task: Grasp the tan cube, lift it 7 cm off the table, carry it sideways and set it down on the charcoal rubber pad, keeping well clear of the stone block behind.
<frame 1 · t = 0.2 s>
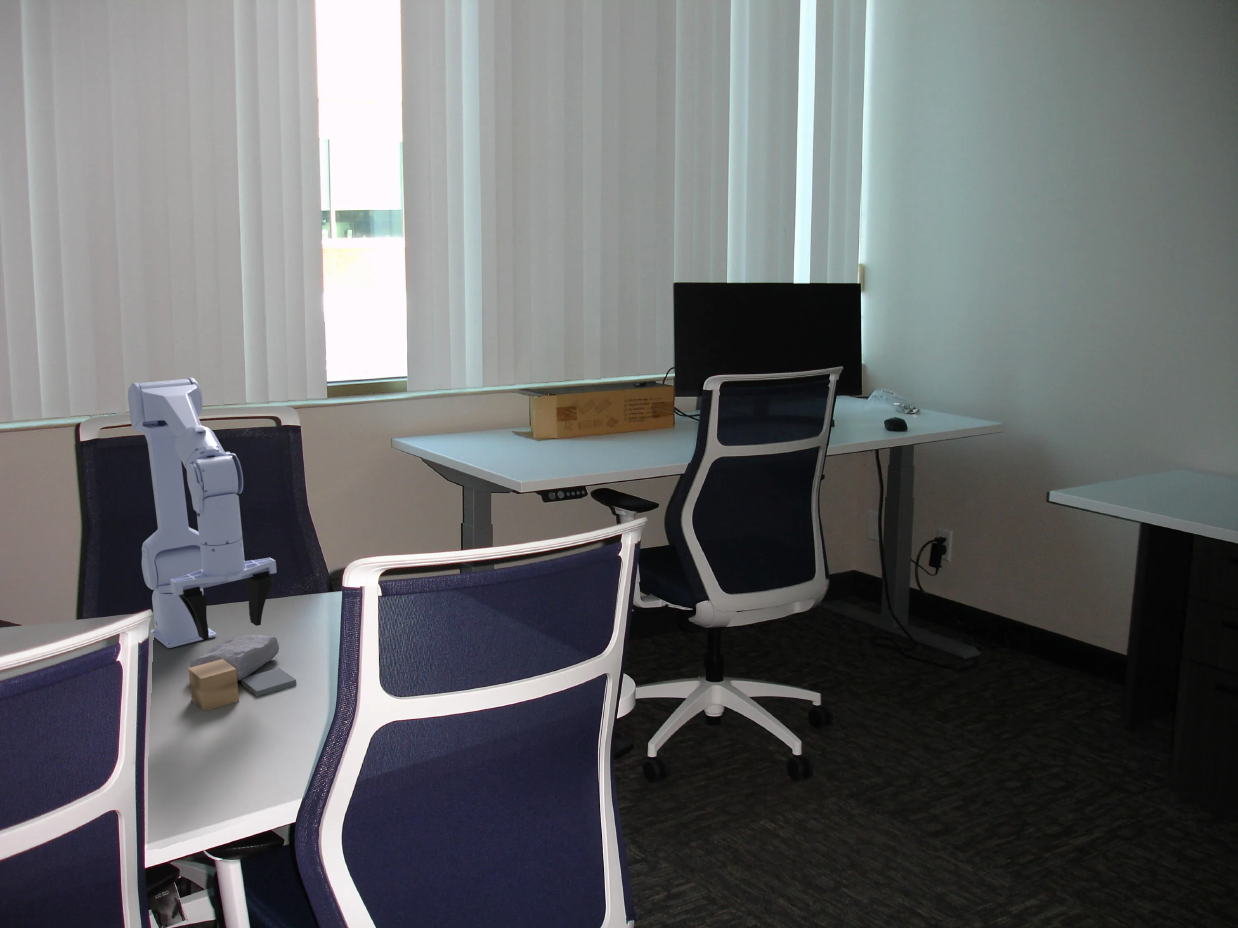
hand: (230, 630, 152), 10 cm above the table, fingers open, 7 cm apart
stone block: (234, 668, 162), on the table, touching charcoal pad
tan cube: (215, 700, 152), on the table
charcoal pad: (268, 684, 157), on the table
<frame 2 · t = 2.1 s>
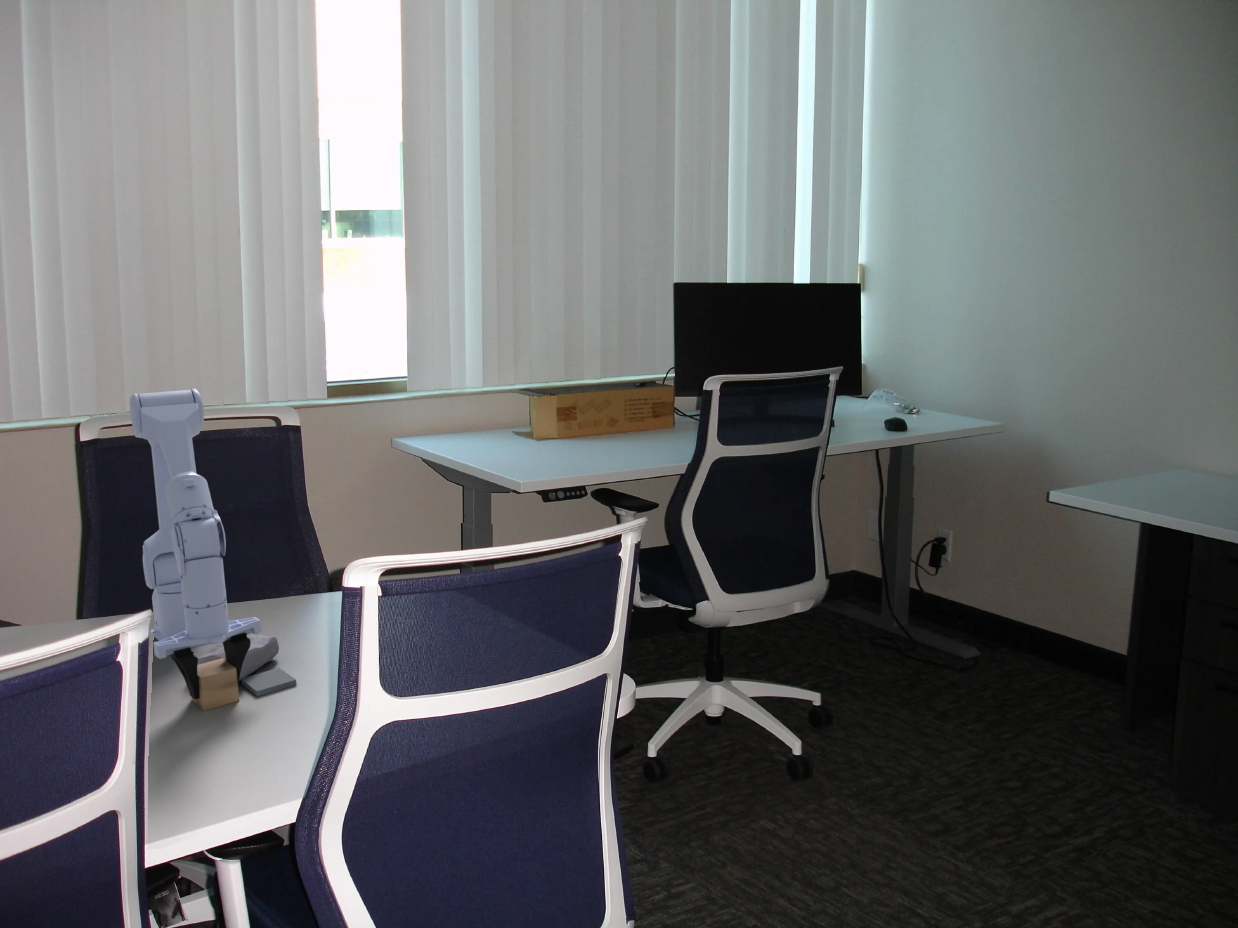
hand: (214, 690, 151), 1 cm above the table, fingers closed on tan cube, 5 cm apart
tan cube: (215, 699, 152), on the table, touching gripper
everything else where it was.
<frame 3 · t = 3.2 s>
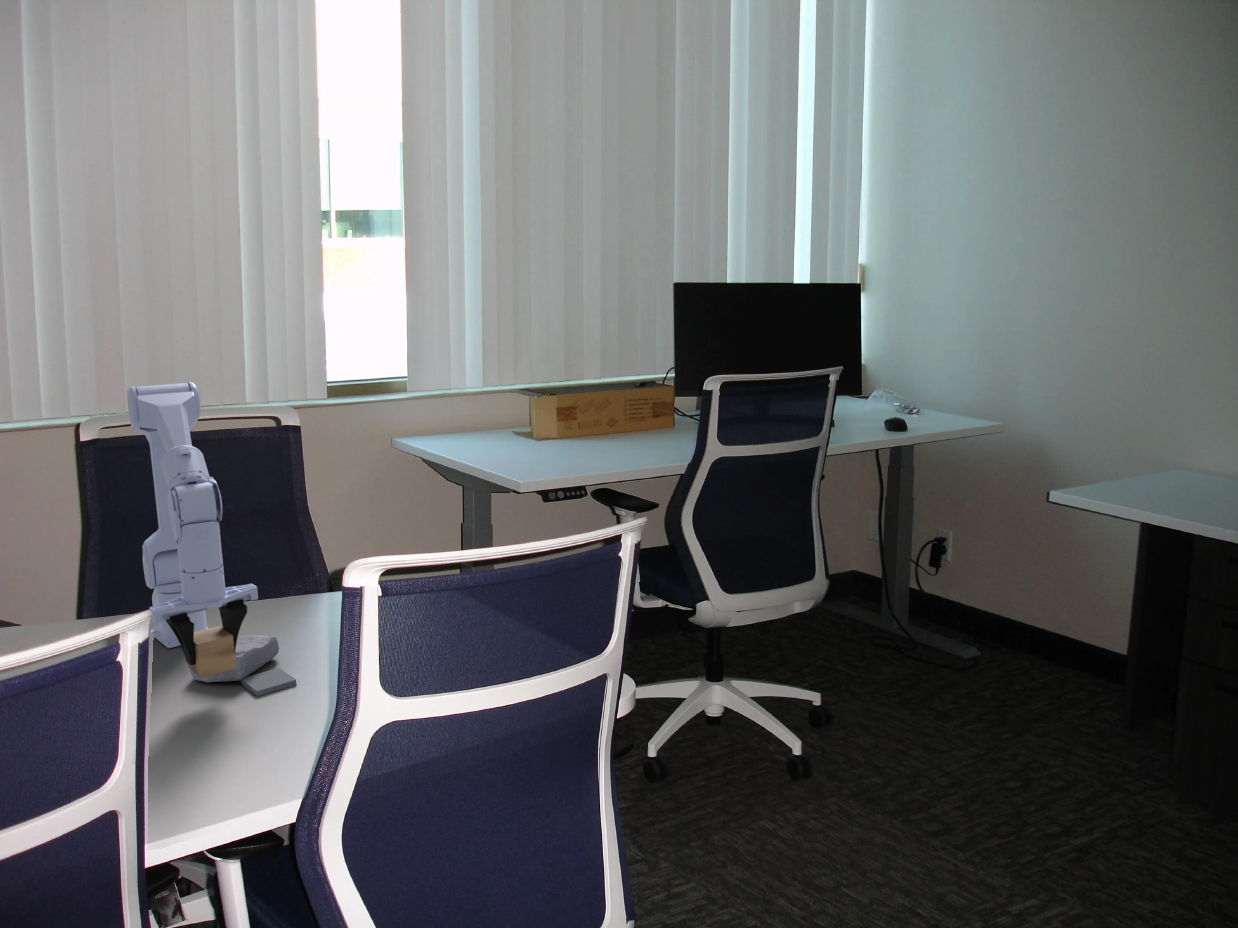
hand: (210, 657, 150), 7 cm above the table, fingers closed on tan cube, 5 cm apart
tan cube: (212, 667, 150), point 5 cm above the table, touching gripper
everything else where it was.
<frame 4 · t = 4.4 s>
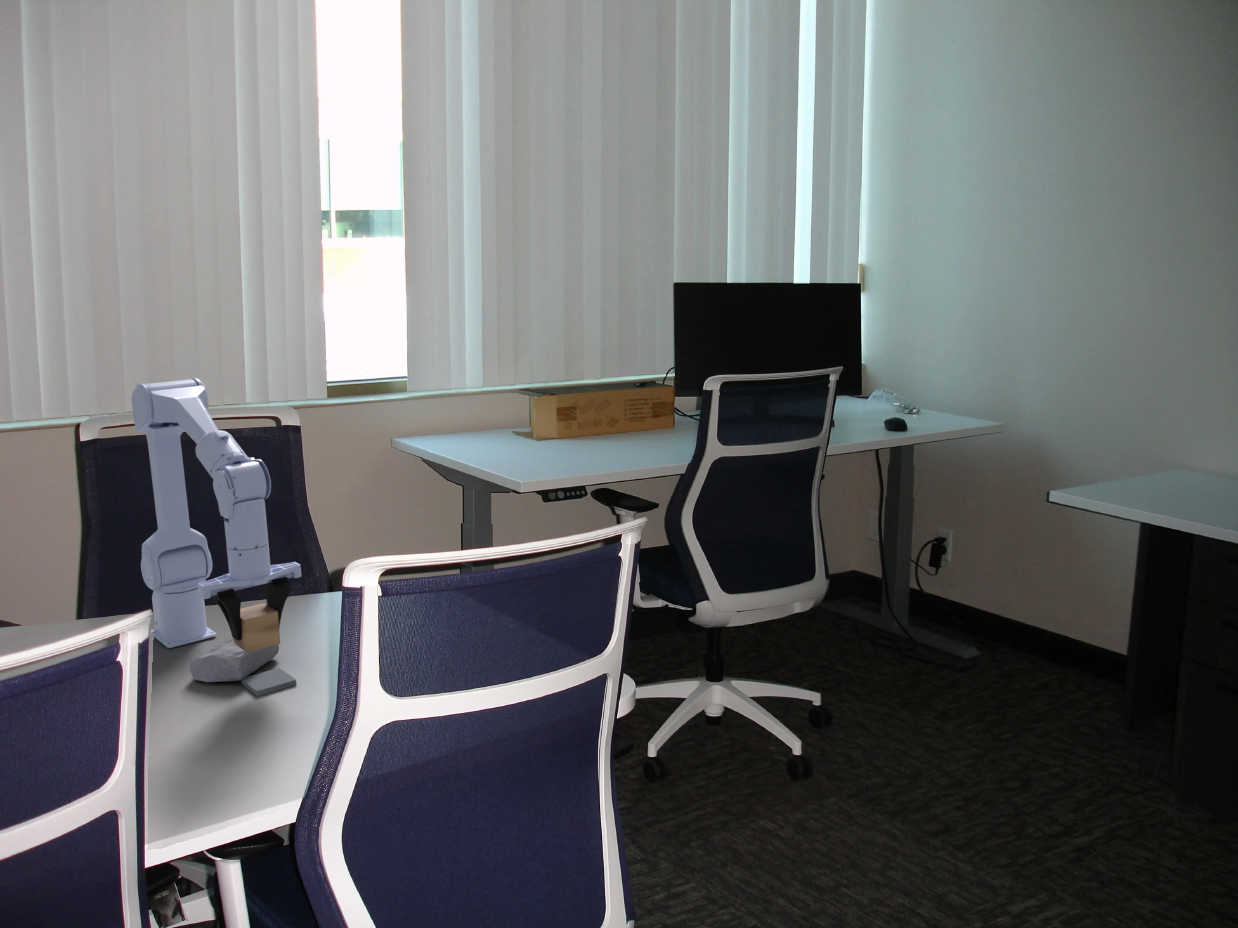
hand: (255, 633, 154), 8 cm above the table, fingers closed on tan cube, 5 cm apart
tan cube: (257, 643, 154), point 7 cm above the table, touching gripper
everything else where it was.
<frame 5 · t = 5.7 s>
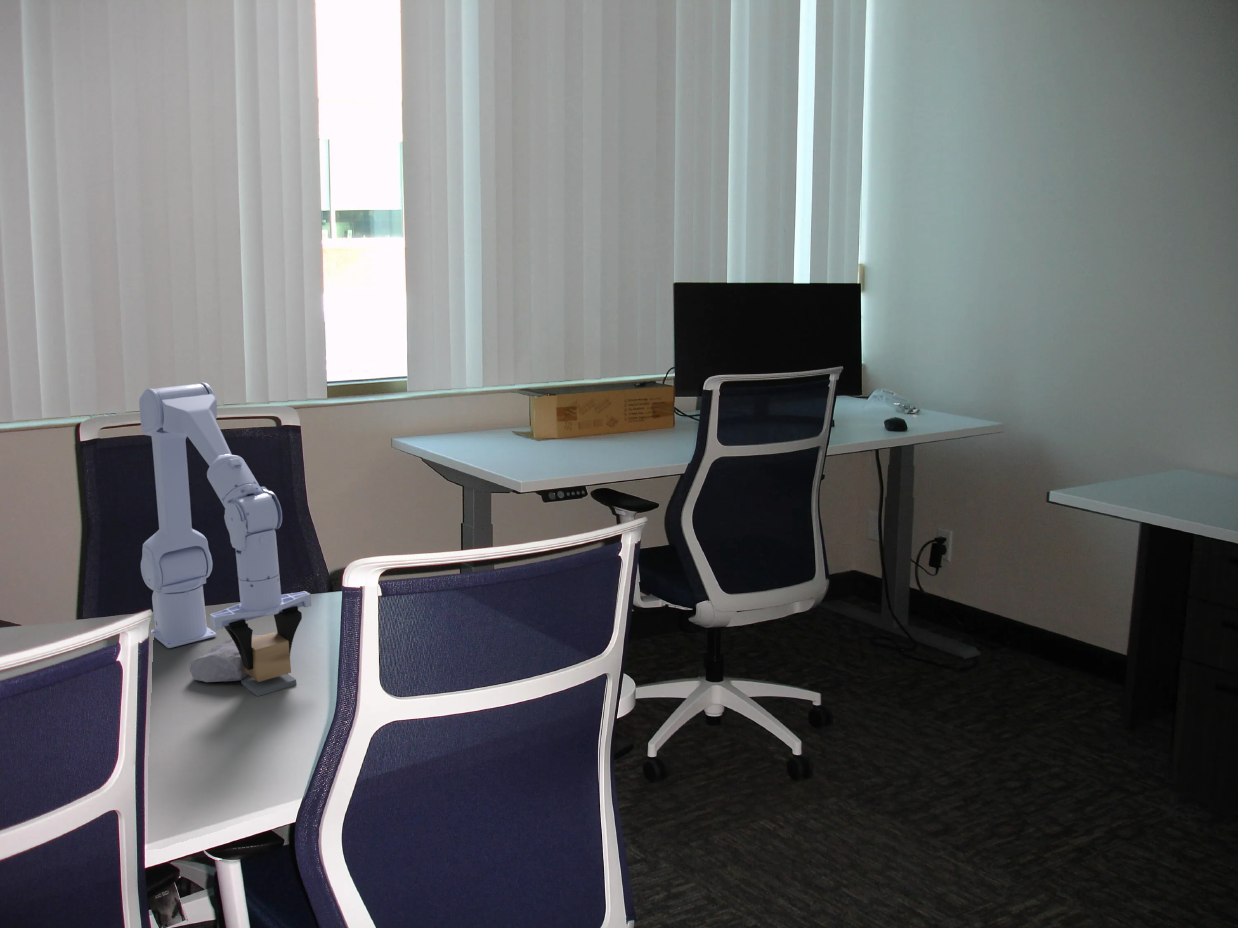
hand: (266, 662, 156), 3 cm above the table, fingers closed on tan cube, 5 cm apart
tan cube: (267, 672, 156), point 2 cm above the table, touching gripper
everything else where it was.
when the fingers open (3 cm above the table, at t = 6.6 s): tan cube stays where it is, resting on charcoal pad, stone block.
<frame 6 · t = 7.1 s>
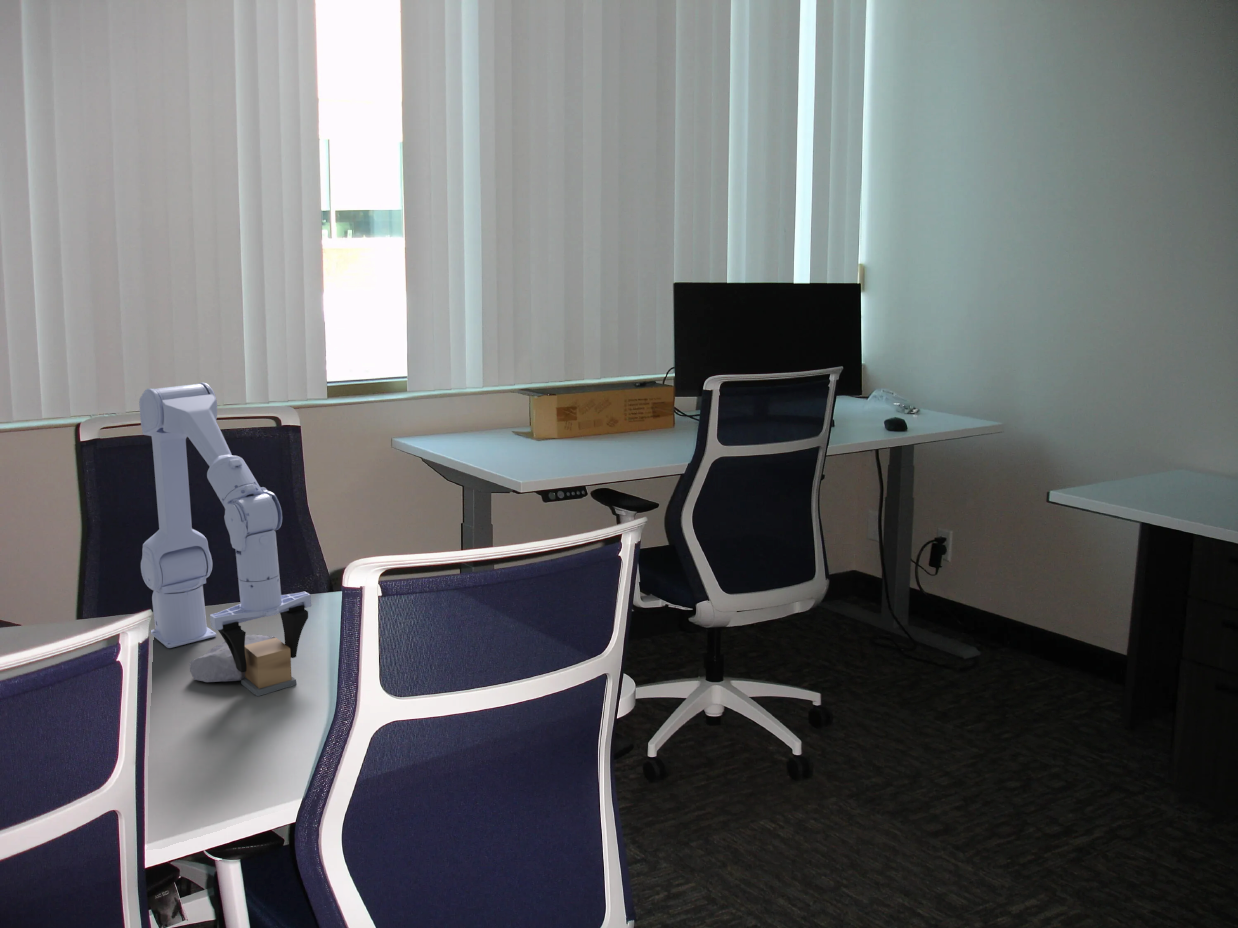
hand: (266, 662, 156), 3 cm above the table, fingers open, 7 cm apart
stone block: (234, 668, 162), on the table, touching charcoal pad, tan cube
tan cube: (268, 678, 156), point 1 cm above the table, touching charcoal pad, stone block
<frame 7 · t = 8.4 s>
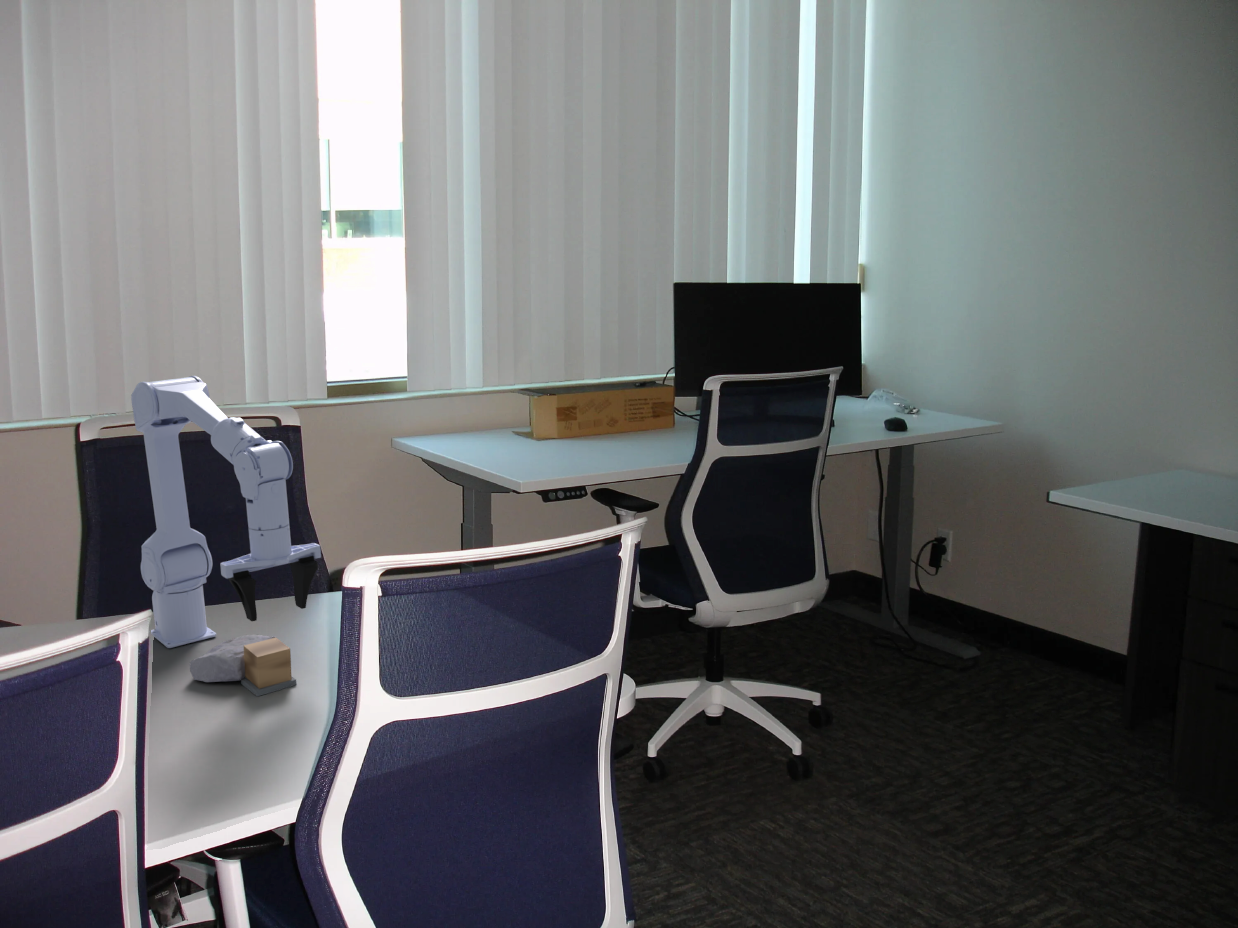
hand: (276, 612, 157), 10 cm above the table, fingers open, 7 cm apart
nothing on the table moved.
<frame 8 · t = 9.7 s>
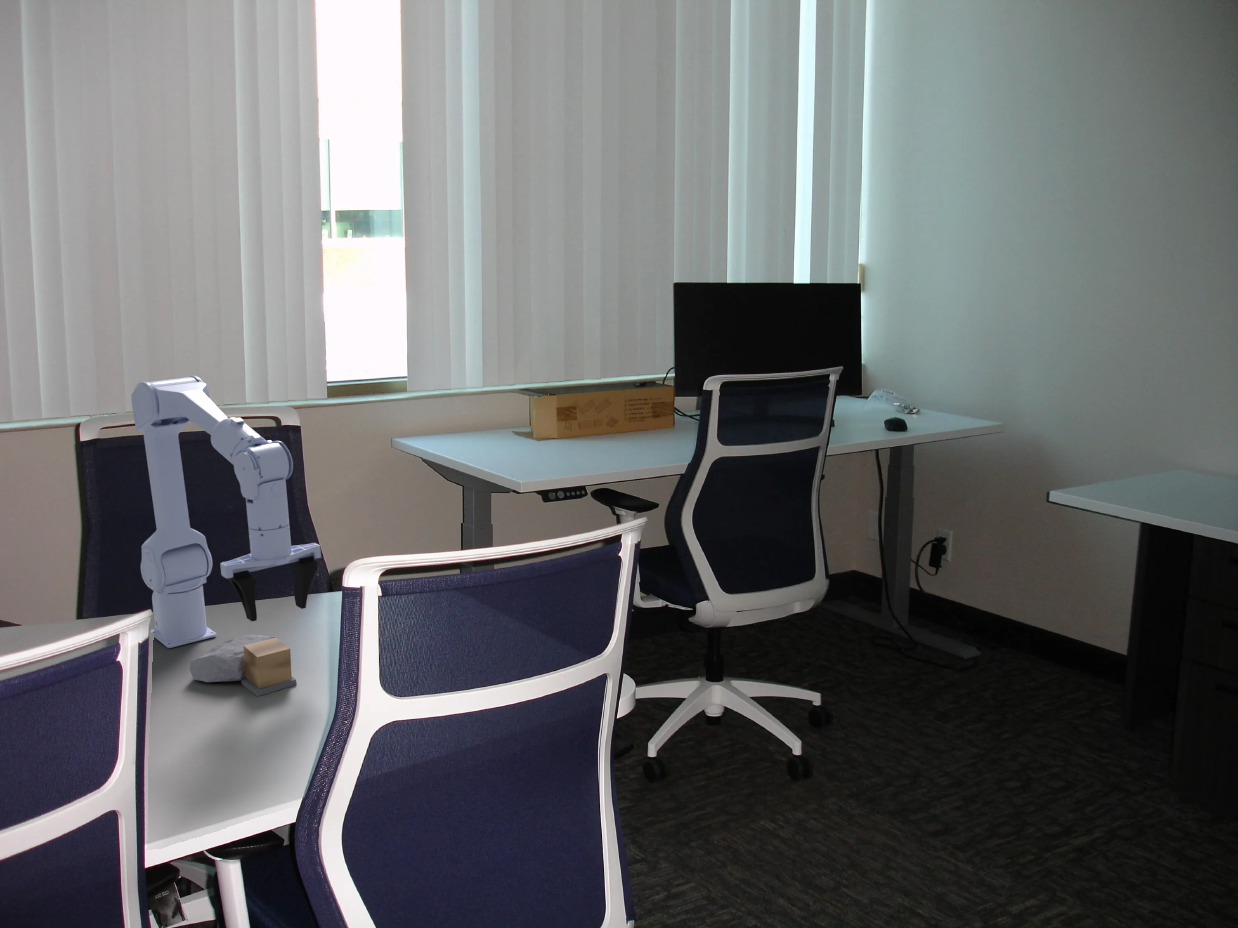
hand: (276, 612, 157), 10 cm above the table, fingers open, 7 cm apart
nothing on the table moved.
at the end: tan cube 0.1 cm off-centre on the charcoal pad, point 1.0 cm above the charcoal pad's base; tan cube tilted 3°; the gripper is holding nothing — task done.
